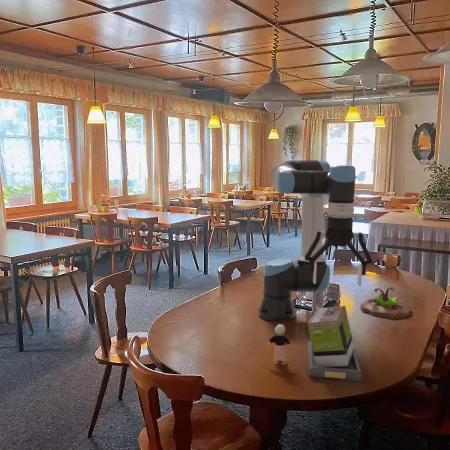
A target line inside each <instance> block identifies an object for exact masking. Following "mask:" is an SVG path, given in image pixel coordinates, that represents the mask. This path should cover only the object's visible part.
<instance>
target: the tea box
mask: <svg viewBox="0 0 450 450" xmlns="http://www.w3.org/2000/svg"><path fill="white" fill-rule="evenodd" d="M347 312H348V311H347V308H346V305H341V306H332V307H320V308H316V309H315V311H314V313H313V314H312V316H311V317H310V319H309V320H308V322H307V330H308V333H309V340H310V341H311V343H312V348H313V353H314V358H315V362H316V366H317V367H338V366H347V365H348V362H349V360H350V357H351V354H352V352H353V349H354V348H355V346H354V340H353V335H352V330H351V327H350V321H349V317H348V313H347Z"/></svg>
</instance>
